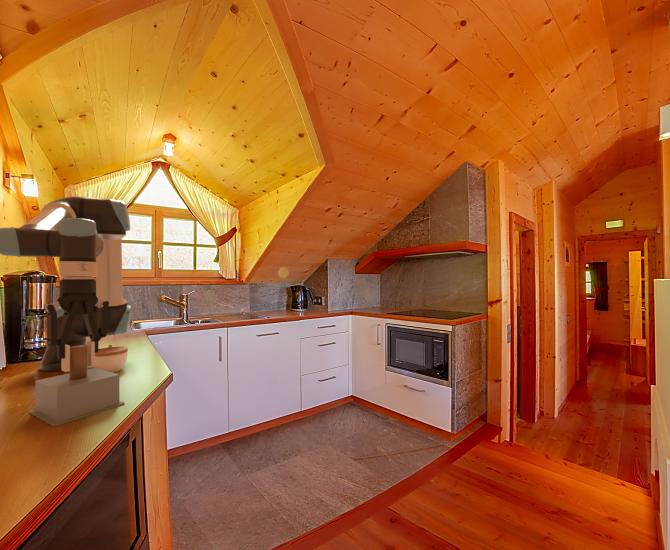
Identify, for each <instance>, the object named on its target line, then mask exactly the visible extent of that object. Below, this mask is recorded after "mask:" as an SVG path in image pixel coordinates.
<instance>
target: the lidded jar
mask: <svg viewBox="0 0 670 550" xmlns="http://www.w3.org/2000/svg"><path fill="white" fill-rule="evenodd" d="M128 348H129V347H127V346H113V345H112V344H109V345H108V347H102V348H98V352H96V353H95V366H93V368H98V369H102V370H105V371H108V372H112V373H116V372H119V371H121V369H122V368H123V367H124V366H125V364H126V362H127V361H128V351H129V349H128Z"/></svg>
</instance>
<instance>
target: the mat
mask: <svg viewBox="0 0 670 550" xmlns="http://www.w3.org/2000/svg"><path fill="white" fill-rule="evenodd" d="M125 403H126V402H124V401H121V400H119V404H115V405H112V406H109V407H106V408H103V409H100V410H96V411H93V412H90V413H87V414H84V415H80V416H77V417H74V418H71V419H68V420H65V421H61V422H58V423H57V422H55V421H53V420H51V419H49V418H48V417H46V416H44V415H42V414H40V413H39V412H37V411H35V409H33V410H30V411H29V410H28V413H29V414H30V415H32V416H33V417H35V416H36V418H37V419H39V420H40V421H42V420H43V421H42V422H44V421H45V422H44V423H46V424H48V425H49V424H50V426H52V427H53V428H55V427H58V426H61V425H65V424H68V423H72V422H74V421H77V420H80V419H84V418H86V417H90V416H93V415H95V414H98V413H102V412H105V411H109V410H112V409H115V408H118V407H121V406H123V404H124V405H125ZM120 405H121V406H120ZM117 406H118V407H117ZM114 407H115V408H114Z"/></svg>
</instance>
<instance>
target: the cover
mask: <svg viewBox="0 0 670 550" xmlns="http://www.w3.org/2000/svg"><path fill="white" fill-rule="evenodd" d="M34 381H35V382H34V383H35V384H34V386H35V388H34V389H35V391H34V392H35V401H34V402H35V403H34V404H35V408H34V410H35V411H37V412H39V413H40V414H42V415H44V416H46V417H48V418H49V419H51V420H53V421H55V422H57V423H58V422H61V421H65V420H68V419H71V418H74V417H77V416H80V415H84V414H87V413H90V412H93V411H96V410H100V409H103V408H106V407H109V406H112V405H115V404H119V401H120V374H118V373H116V372H113V373H112V372H108V371H105V370H102V369H98V368H95V367H93V368H89V369H88V366H87V344H86V345H80V346H73V347H70V371H69V373H64V374H60V375H59V374H58V375H57V376H56V375H54V376H50V377H45V378H40V379H37V380H34Z"/></svg>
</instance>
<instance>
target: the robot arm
mask: <svg viewBox="0 0 670 550" xmlns="http://www.w3.org/2000/svg"><path fill="white" fill-rule="evenodd" d="M129 231H131V220H130V215H129V211H128V207H127V204H126V203H125V201H123V200H119V199H118V200H116V199H112V198H99V197H97V198H96V197H87V196H86V197H85V196H68V197H63V198H58V199H56V200H55V199H54V200H52V201H50V202H48V203H47V204H44V206H43V207H42V208H41V211H40V213H38V214H37V215H36V216H34V217H33V218H32V219H30V220H28V221H27V222H26V223H24V224H23V225H21V226H20V227H14V226H12V227H0V255H2V256H8V257H17V258H19V257H20V258H21V257H25V258H27V257H29V258H30V257H31V258H34V257H35V258H41V257H42V258H45V257H46V258H47V257H48V258H59V268H58V269H59V271H58V273H59V275H58V276H59V278H62V279H60V280H59V281H58V282H59V289H58V290H59V297H58V299H57V300H56V301H55V302H52V303H46V304H44V305H43V308H44V311H45V313H46V321H45V323H46V349H45V351H44V354H43V356H42V359H41V361H40V364H39V365H40V370H41V371H42V370H43V371H44V372H59V371H62V372H64V373H68V372H69V373H70V347H73V346H80V345H87V367H94V366H95V353H96V352H98V349H99V342H100V341H101V339H102V338H103V339H104V338H105V337H107V336H116V335H117V336H118V335H123V334H126V333H127V332H128V330H129V327H130V323H131V322H130V321H131V315H132V305H129V304H128V300H127V299H125V298H124V297H123V295H124V294H123V293H124V291H123V252H122V251H123V249H122V246H123V245H122V242H123V241H122V240H123V238H124V237H126V236H127V232H129ZM87 338H89V339H90V340H87Z"/></svg>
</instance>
